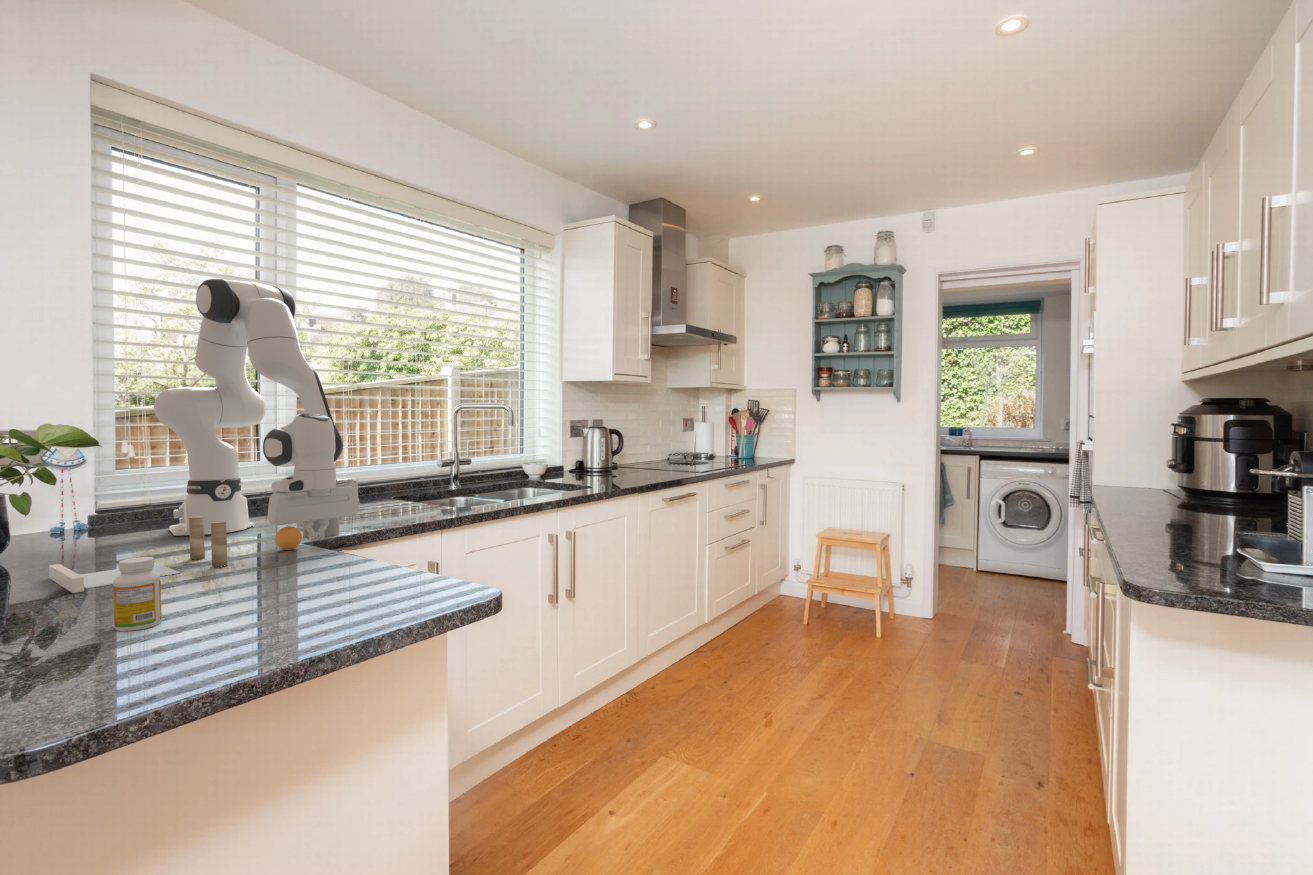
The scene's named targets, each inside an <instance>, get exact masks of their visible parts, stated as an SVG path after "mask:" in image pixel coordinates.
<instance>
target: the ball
mask: <svg viewBox="0 0 1313 875" xmlns="http://www.w3.org/2000/svg"><path fill="white" fill-rule="evenodd" d="M302 539H303V534H302V533H301V531H300V529H298V528H296V527H294V526H288V525H287V526H284V527H281V528H280V529H279V530H277V532H276V533H275V536H274V542H275V545H276V546H277V547H278V548H279V549H280V550H283V551H284V550H285V551H291V550H294V549H296V548H297V547H299V545H300V544H301V542H302Z"/></svg>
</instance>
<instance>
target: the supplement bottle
mask: <svg viewBox="0 0 1313 875" xmlns="http://www.w3.org/2000/svg"><path fill="white" fill-rule="evenodd" d="M154 564H155V558H154V556H153V557H152V556H140V557H139V556H138V557H132V558H125V559H123V560H119V561H118V569H119V572H121V575H120V576H118V577H116V578H115V579H114V581H113V584H112V594H113V595H112V596H113V597H112V598H113V600H112V601H113V603H112V604H113V625H114V626H113V627H114V629H115V630H116V631H118V632H132V631H140V630H145V629H150V628H152V627H155V626H157V625H159V624H160V623H161V622H162V620H163V619H162V618H163V617H162V616H163V615H162V588H161V587H162V586H161V585H162V584H161V583H162V582H161V577H160V575H159V573H157V572H155V571H152V568H154Z"/></svg>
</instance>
